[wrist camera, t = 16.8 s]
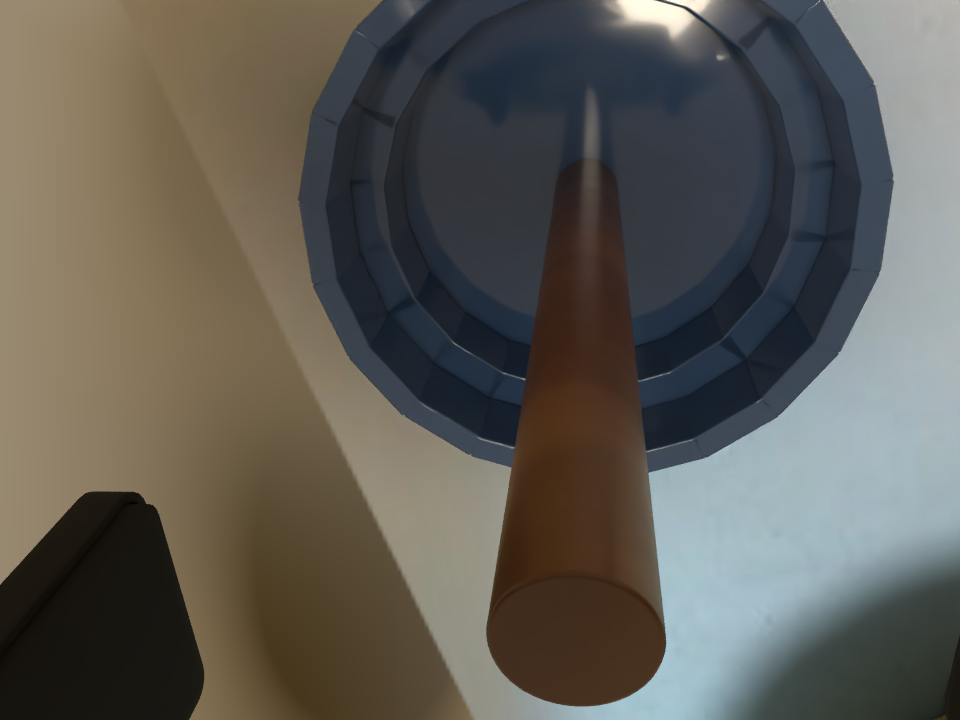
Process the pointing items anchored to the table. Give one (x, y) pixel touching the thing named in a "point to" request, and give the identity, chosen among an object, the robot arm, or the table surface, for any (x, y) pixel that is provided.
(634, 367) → the cooking stick
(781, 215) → the mixing bowl
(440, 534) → the table surface
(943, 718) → the bowl
